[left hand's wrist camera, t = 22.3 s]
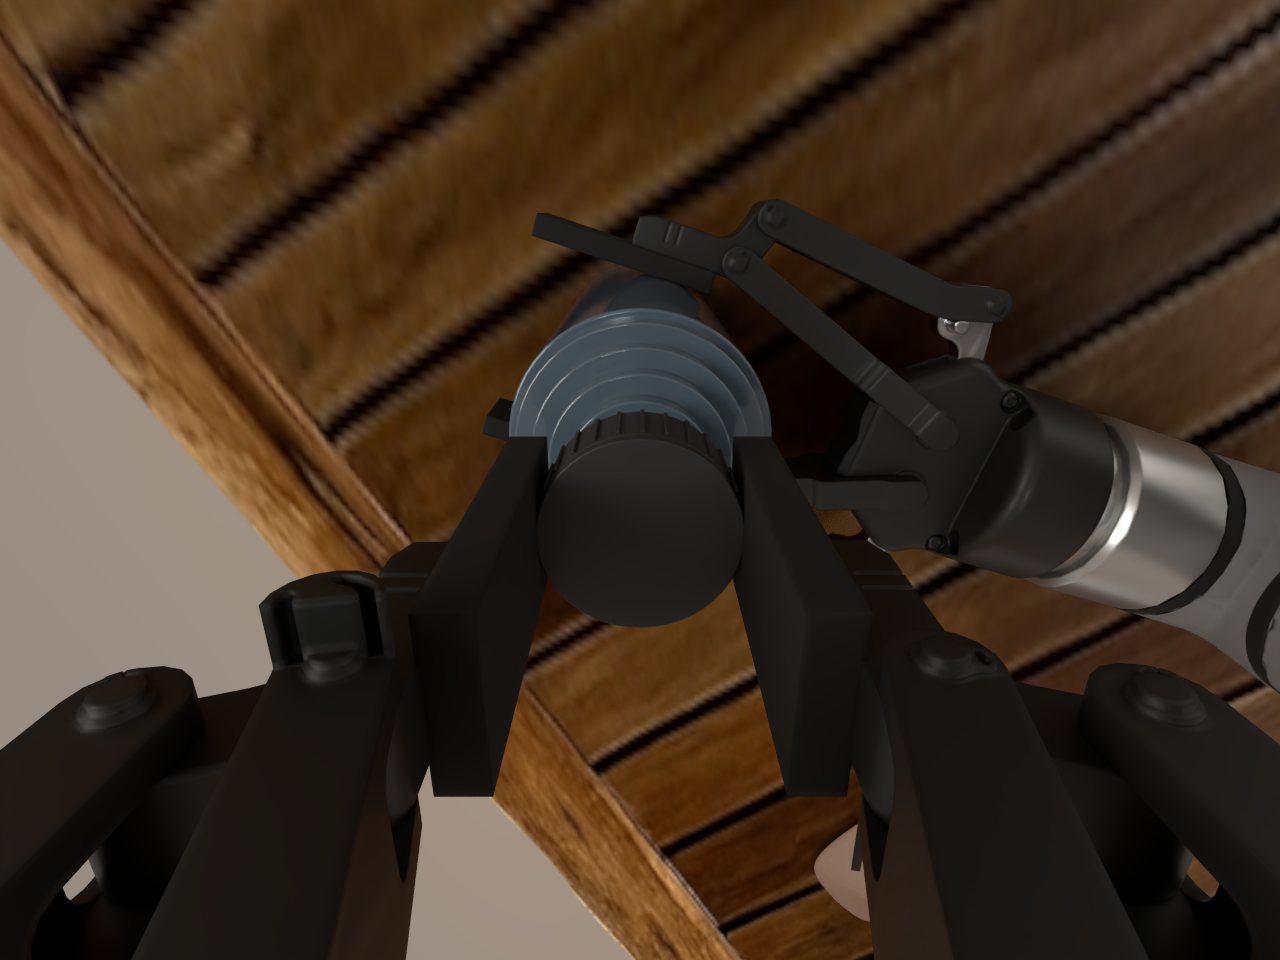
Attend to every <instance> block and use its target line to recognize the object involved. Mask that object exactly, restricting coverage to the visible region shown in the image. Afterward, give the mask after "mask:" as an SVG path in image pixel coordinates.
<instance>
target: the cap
mask: <svg viewBox="0 0 1280 960" xmlns="http://www.w3.org/2000/svg"><path fill="white" fill-rule="evenodd" d="M542 491H544V495H543V498H542V501H541V504H540V507H539V511H538V515H537V542H538V555H539V558H540V561H541V565H542V567H543V569H544V571H545V573H546V575H547V577H548V578H549V580H550V581H551V583H552V584H553V586H554V587H555V588H556V590H557V591H558V592H559V593H560V594H561V595H562V596H563V597H564V598H565V599H566V600H567V601H568V602H569V603H570V604H572V605H573V606H574V607H576V608H577V609H579V610H580V611H582V612H583V613H585V614H587V615H589V616H591V617H593V618H595V619H598V620H601V621H603V622H606V623H610V624H614V625H618V626H625V627H636V628H646V627H657V626H662V625H667V624H671V623H674V622H677V621H680V620H683V619H685V618H687V617H690V616H692V615H694V614H695V613H697V612H699V611H700V610H702V609H704V608H705V607H706V606H708V605H709V604H710V603H711V602H713V601H714V600H715V599H716V598H717V597H718V596H719V595H720V594H721V593H722V592H723V591H724V589H725V588H726V587H727V585H728V584H729V583H730V581H731V580H732V578H733V576H734V574H735V572H736V571H737V568H738V566H739V563H740V561H741V558H742V549H743V533H744V517H743V512H742V508H741V505H740V502H739V499H738V495H740V492H739V489H738V486H737V483H736V480H735V478H734V475H733V472H732V469H731V467H727V464H726V461H725V458H724V455H723V452H722V450H721V449H720V448H719V449H718V450H717V448H716V447H715V445H714V444H713V443H712V442H711V441H710V440H709V437H708V434H707V433H705V432H704V433H703V434H702V433H701V432H700V431H699V430H697V429H696V428H694V427H693V426H691V425H690V423H689V421H687V420H685V422H684V421H681V420H679V419H677V418H674V417H671V416H668V413H666V412H664V413H663V414H659V413H653V412H645V409H640V412H628V413H622V412H621V411H619V412H617V415H613V416H609V417H607V418H604V419H601V420H600V419H599V418H597V419H595V423H593V424H591V425H589V426H588V427H586V428H585V429H584V430H582V431H580V430H578V431H576V434H575V437H574V438H573V439H572V440H571V441H570V442H569V443H568V444H567V445H566V446H564V445H563V446H562V447H561V449H560V452H559V455H558V458H557V460H556V462H555V464H553V463H551V466H550V468H549V471H548V474H547V477H546V480H545V483H544V486H543V488H542Z"/></svg>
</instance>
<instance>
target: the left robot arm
mask: <svg viewBox="0 0 1280 960" xmlns="http://www.w3.org/2000/svg"><path fill="white" fill-rule="evenodd" d="M548 471H549V465H548V446H547V436H510V437H509V438H508V440H507V442H506V444H505V445H504V447H503V449H502V450H501V452H500V454H499V456H498V457H497V459H496V461H495V463H494V464H493V466H492V468H491V470H490V471H489V473H488V475H487V477H486V478H485V480H484V482H483V483H482V485H481V487H480V489H479V490H478V492H477V494H476V496H475V497H474V499H473V501H472V503H471V504H470V506H469V508H468V510H467V511H466V513H465V515H464V516H463V518H462V520H461V522H460V523H459V525H458V527H457V529H456V530H455V532H454V534H453V536H452V537H451V539H450V541H449V542H414V543H412V544H411V545H409V546H408V547H406V548H404V549H403V550H401V551H400V552H398V553H397V554H395V555H393V556H392V557H391V558H390V559H389V561H388V562H387V564H386V565H385V566H384V568H383V569H382V570H381V572H380V573H379V578H378V577H377V576H376V575H373V574H369V573H365V572H361V571H331V572H325V573H319V574H314V575H310V576H307V577H304V578H301V579H298V580H295V581H292V582H290V583H288V584H286V585H284V586H282V587H281V588H279V589H277V590H275V591H274V592H272V593H270V594H269V595H268V596H267V597H266V598H265V600H263V602H262V603H261V604H260V605H259V609H260V613H261V617H262V622H263V626H264V630H265V635H266V639H267V643H268V647H269V652H270V656H271V660H272V664H273V671H272V673H271V675H270V677H269V679H268V681H267V683H266V684H264V685H260V686H256V687H252V688H248V689H243V690H238V691H232V692H227V693H223V694H217V695H212V696H208V697H202V698H198V697H197V693H196V690H195V687H194V683H193V680H192V678H191V677H190V676H189V675H188V674H187V673H185V672H184V671H183V670H181V669H176V668H170V667H165V666H160V667H147V668H136V669H131V670H126V672H119V673H115V674H112V675H109V676H107V677H105V678H104V679H102V680H100V681H97V682H95V683H93V684H90V685H88V686H86V687H84V688H82V689H80V690H79V691H77V692H76V693H74V694H73V695H71V696H69V697H68V698H66V699H65V700H63V701H62V702H60V703H59V704H57V705H56V706H55V707H54V708H52V709H51V710H50V711H49V712H47V713H46V714H45V715H44V716H42V717H41V718H40V719H39V720H37V721H36V722H35V723H34V724H33V725H31V726H30V727H29V728H27V729H26V730H25V731H24V732H22V733H21V734H20V735H19V736H17V737H16V738H15V739H14V740H12V741H11V742H10V743H9V744H7V745H6V746H5V747H4V748H2V749H1V750H0V960H406V952H407V944H408V936H409V928H410V920H411V912H412V903H413V895H414V887H415V879H416V871H417V863H418V854H419V846H420V838H421V830H422V821H421V813H420V806H419V800H418V793H419V790H420V788H421V785H422V782H423V780H424V777H425V774H426V772H427V769H428V766H430V773H431V780H432V787H433V794H434V797H493V795H494V791H495V787H496V783H497V779H498V775H499V771H500V767H501V763H502V759H503V755H504V751H505V747H506V743H507V739H508V735H509V731H510V727H511V723H512V719H513V715H514V711H515V707H516V703H517V699H518V695H519V691H520V687H521V683H522V679H523V675H524V671H525V667H526V663H527V659H528V655H529V651H530V647H531V643H532V639H533V635H534V631H535V627H536V623H537V619H538V615H539V611H540V607H541V603H542V599H543V595H544V591H545V587H546V583H547V579H548V577H547V575H546V573H545V571H544V569H543V567H542V565H541V561H540V558H539V555H538V542H537V515H538V511H539V507H540V504H541V501H542V498H543V495H544V491H542V488H543V486H544V483H545V480H546V477H547V474H548ZM732 472H733V475H734V478H735V480H736V483H737V486H738V489H739V492H740V495H738V499H739V502H740V505H741V508H742V512H743V517H744V533H743V549H742V558H741V561H740V563H739V566H738V568H737V571H736V572H735V574H734V576H733V581H734V585H735V589H736V593H737V597H738V601H739V605H740V609H741V613H742V617H743V621H744V625H745V629H746V633H747V637H748V641H749V645H750V649H751V653H752V657H753V661H754V665H755V669H756V673H757V677H758V681H759V685H760V689H761V693H762V697H763V701H764V705H765V709H766V713H767V717H768V721H769V725H770V729H771V733H772V737H773V741H774V745H775V749H776V753H777V757H778V761H779V765H780V769H781V773H782V777H783V781H784V785H785V789H786V793H787V797H847V790H848V783H849V776H850V769H851V762H852V764H853V767H854V769H855V772H856V775H857V777H858V780H859V783H860V785H861V788H862V790H863V793H862V800H861V806H860V813H859V819H858V826H857V832H856V839H855V845H854V851H853V858H852V866H851V870H853V871H859V872H860V870H861V864H862V861H863V869H864V877H865V886H866V894H867V902H868V910H869V918H870V926H871V934H872V943H873V951H874V959H875V960H1280V745H1279V744H1278V743H1277V742H1275V741H1274V740H1273V739H1272V738H1270V737H1269V736H1268V735H1267V734H1265V733H1264V732H1263V731H1262V730H1260V729H1259V728H1258V727H1257V726H1255V725H1254V724H1253V723H1251V722H1250V721H1249V720H1248V719H1246V718H1245V717H1244V716H1243V715H1241V714H1240V713H1239V712H1238V711H1236V710H1235V709H1234V708H1233V707H1231V706H1230V705H1229V704H1227V703H1226V702H1225V701H1224V700H1222V699H1221V698H1219V697H1218V696H1216V695H1215V694H1213V693H1211V692H1210V691H1208V690H1207V689H1205V688H1204V687H1202V686H1200V685H1199V684H1197V683H1194V682H1192V681H1190V680H1187V679H1185V678H1183V677H1180V676H1179V675H1177V674H1176V673H1173V672H1170V671H1167V670H1164V669H1161V668H1159V669H1156V667H1152V666H1147V665H1136V664H1124V663H1115V664H1110V665H1104V666H1099V667H1098V668H1097V669H1096V670H1095V671H1094V672H1092V673H1091V674H1090V675H1089V678H1088V682H1087V685H1086V689H1085V692H1084V695H1079V694H1074V693H1069V692H1064V691H1059V690H1054V689H1049V688H1044V687H1039V686H1033V685H1029V684H1025V683H1022V682H1018V681H1014V680H1012V678H1011V676H1010V674H1009V672H1008V669H1007V668H1006V666H1005V665H1004V664H1003V663H1002V661H1001V660H1000V659H999V658H998V656H997V655H996V654H995V653H993V652H992V651H990V650H989V649H987V648H986V647H984V646H983V645H981V644H980V643H978V642H976V641H973V640H971V639H968V638H966V637H963V636H961V635H958V634H956V633H951V632H946V631H945V630H944V629H943V628H942V626H941V625H940V624H939V622H938V621H937V619H936V618H935V617H934V615H933V614H932V612H931V611H930V610H929V608H928V607H927V606H926V604H925V603H924V601H923V600H922V599H921V597H920V596H919V595H918V593H917V592H916V590H913V589H912V585H911V583H910V582H909V581H908V579H907V578H906V577H905V575H902V571H901V570H900V568H899V567H898V565H897V564H896V563H895V561H894V560H893V559H892V557H891V556H890V554H888V553H886V552H885V551H883V550H882V549H880V548H878V547H877V546H875V545H874V544H872V543H871V542H869V541H867V540H830V538H829V536H828V535H827V533H826V531H825V529H824V528H823V526H822V524H821V523H820V521H819V519H818V517H817V516H816V514H815V512H814V510H813V509H812V507H811V505H810V503H809V502H808V500H807V498H806V496H805V495H804V493H803V491H802V490H801V488H800V486H799V484H798V483H797V481H796V479H795V477H794V476H793V474H792V472H791V470H790V469H789V467H788V465H787V464H786V462H785V460H784V458H783V457H782V455H781V453H780V451H779V450H778V448H777V446H776V444H775V443H774V441H773V439H772V437H771V436H733V455H732ZM1193 856H1195V857H1196V858H1197V859H1198V861H1199V862H1200V863H1201V864H1202V865H1203V866H1204V867H1205V868H1206V869H1207V870H1208V872H1209V873H1210V874H1211V875H1212V876H1213V877H1214V878H1215V879H1216V880H1217V881H1218V882H1219V887H1218V889H1217V891H1216V894H1215V895H1214V896H1213V897H1212V898H1211V897H1209V896H1208V895H1207V894H1206V893H1205V892H1203V891H1202V890H1201V889H1200V888H1199V887H1198V886H1197V885H1196V884H1195V883H1194V881H1193V880H1192V879H1191V878H1190V877H1189V876H1188V875H1187V871H1188V868H1189V866H1190V863H1191V861H1192V858H1193ZM88 859H89V862H90V864H91V867H92V869H93V872H94V874H95V877H94V878H93V879H92V881H91V882H90V883H89V884H88V885H87V886H86V887H85V888H84V890H82V891H81V892H80V893H79V894H78V895H76V896H75V897H74V898H73V899H72V900H69V899H68V898H67V897H66V894H65V892H64V890H63V886H64V885H65V884H66V883H67V882H68V881H69V880H70V879H71V878H72V876H73V875H74V874H75V873H76V872H77V871H78V870H79V869H80V868H81V867H82V865H83V864H84V863H85V862H86V861H87V860H88Z"/></svg>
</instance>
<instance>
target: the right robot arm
mask: <svg viewBox="0 0 1280 960" xmlns="http://www.w3.org/2000/svg"><path fill="white" fill-rule="evenodd" d="M532 236H535V237H538V238H541V239H544V240H547V241H550V242H553V243H556V244H559V245H562V246H565V247H568V248H571V249H574V250H577V251H580V252H583V253H586V254H589V255H592V256H595V257H598V258H601V259H604V260H607V261H610V262H613V263H616V264H619V265H622V266H625V267H627V268H630V269H633V270H636V271H639V272H642V273H645V274H648V275H651V276H654V277H657V278H660V279H663V280H667V281H669V282H672V283H675V284H678V285H681V286H684V287H687V288H690V289H693V290H696V291H699V292H702V293H705V294H708V295H709V293H710V290H711V287H712V284H713V281H714V279H715V276H716V274H717V275H720V276H723V277H726V278H728V279H729V280H730V281H732V282H733V283H734V284H735V285H736V286H738V287H739V288H740V289H741V290H742V291H744V292H745V293H746V294H747V295H748V296H749V297H751V298H752V299H753V300H754V301H755V302H757V303H758V304H759V305H760V306H761V307H763V308H764V309H765V310H766V311H767V312H769V313H770V314H771V315H772V316H773V317H775V318H776V319H777V320H778V321H779V322H781V323H782V324H783V325H784V326H785V327H787V328H788V329H789V330H790V331H791V332H793V333H794V334H795V335H796V336H797V337H799V338H800V339H801V340H802V341H803V342H805V343H806V344H807V345H808V346H809V347H811V348H812V349H813V350H814V351H815V352H817V353H818V354H819V355H820V356H821V357H823V358H824V359H825V360H826V361H827V362H829V363H830V364H831V365H832V366H833V367H835V368H836V369H837V370H838V371H839V372H840V373H842V374H843V375H844V376H845V377H846V378H848V379H849V380H850V381H851V382H852V383H854V384H855V385H856V386H857V387H858V388H860V389H856V388H854V390H853V392H852V394H851V397H850V399H849V401H848V403H847V406H846V412H845V419H844V424H843V425H842V427H841V428H840V429H839V431H838V432H837V433H836V434H835V436H834V437H833V438H832V439H831V442H830V444H829V446H828V448H827V451H826V453H808V454H802V455H800V456H799V457H797V458H784V460H785V462H786V464H787V465H788V467H789V469H790V470H791V472H792V474H793V476H794V477H795V479H796V481H797V483H798V484H799V486H800V488H801V490H802V491H803V493H804V495H805V496H806V498H807V500H808V502H809V503H810V505H811V507H813V508H815V509H818V510H826V511H828V510H851V512H852V513H853V515H854V516H855V518H856V519H857V521H858V522H859V524H860V525H861V527H862V528H863V529H862V530H861V531H860V532H859V533H858V534H856V535H853V536H845V535H841V534H835V533H831V534H828V536H829V538H830V540H867V541H869V542H871V543H872V544H874V545H875V546H877V547H878V548H880V549H882V550H883V551H886V550H888V551H901V550H906V549H923V550H927V551H930V552H933V553H935V554H938V555H941V556H944V557H947V558H950V559H954V560H957V561H960V562H964V563H967V564H970V565H974V566H977V567H980V568H984V569H987V570H990V571H994V572H997V573H1000V574H1004V575H1007V576H1010V577H1015V578H1024V579H1025V580H1027V581H1029V582H1031V583H1033V584H1035V585H1038V586H1042V587H1045V588H1049V589H1052V590H1056V591H1059V592H1063V593H1066V594H1070V595H1073V596H1077V597H1081V598H1084V599H1088V600H1091V601H1095V602H1098V603H1102V604H1105V605H1109V606H1112V607H1115V608H1117V609H1120V610H1123V611H1126V612H1130V613H1135V614H1138V615H1141V616H1144V617H1147V618H1151V619H1154V620H1157V621H1160V622H1163V623H1166V624H1169V625H1172V626H1175V627H1179V628H1182V629H1185V630H1187V631H1189V632H1192V633H1194V634H1196V635H1198V636H1200V637H1202V638H1203V639H1205V640H1207V641H1208V642H1210V643H1211V644H1213V645H1214V646H1216V647H1217V648H1218V649H1220V650H1221V651H1222V652H1224V653H1225V654H1226V655H1228V656H1229V657H1230V658H1231V659H1233V660H1234V661H1235V662H1237V663H1238V664H1239V665H1241V666H1242V667H1243V668H1245V669H1246V670H1247V671H1248V672H1250V673H1251V674H1252V675H1254V676H1255V677H1256V678H1258V679H1259V680H1260V681H1262V682H1263V683H1264V684H1266V685H1267V686H1268V687H1270V688H1273V689H1274V690H1276V691H1277V692H1278V693H1279V694H1280V474H1279V473H1276V472H1273V471H1269V470H1266V469H1263V468H1260V467H1256V466H1253V465H1250V464H1247V463H1243V462H1240V461H1237V460H1234V459H1230V458H1227V457H1224V456H1221V455H1217V454H1214V453H1211V452H1209V451H1207V450H1205V449H1203V448H1200V447H1198V446H1196V445H1193V444H1190V443H1187V442H1184V441H1181V440H1179V439H1176V438H1173V437H1170V436H1167V435H1164V434H1161V433H1158V432H1155V431H1152V430H1149V429H1146V428H1143V427H1141V426H1138V425H1135V424H1132V423H1129V422H1126V421H1123V420H1120V419H1117V418H1114V417H1111V416H1107V415H1103V414H1099V413H1096V414H1094V413H1093V412H1092V411H1090V410H1088V409H1086V408H1084V407H1081V406H1078V405H1075V404H1073V403H1070V402H1067V401H1064V400H1061V399H1058V398H1055V397H1052V396H1049V395H1046V394H1043V393H1040V392H1037V391H1034V390H1031V389H1028V388H1025V387H1022V386H1019V385H1016V384H1014V383H1011V382H1008V381H1005V380H1002V379H1001V378H1000V377H999V376H998V375H997V374H996V373H995V371H994V370H993V369H992V367H991V366H990V365H989V364H988V363H986V362H985V361H983V360H984V357H985V353H986V349H987V345H988V341H989V337H990V333H991V329H992V325H993V323H998V322H1000V321H1002V320H1004V319H1005V318H1006V317H1007V316H1008V315H1009V313H1010V311H1011V309H1012V298H1011V296H1010V294H1009V293H1007V292H1006V291H1004V290H1001V289H997V288H992V287H987V286H983V285H978V284H974V283H968V282H955V281H943V280H941V279H939V278H937V277H935V276H933V275H931V274H929V273H927V272H925V271H923V270H921V269H919V268H917V267H915V266H913V265H911V264H909V263H907V262H905V261H903V260H901V259H899V258H897V257H895V256H893V255H891V254H889V253H887V252H885V251H883V250H881V249H879V248H877V247H875V246H873V245H871V244H869V243H867V242H865V241H863V240H861V239H859V238H857V237H855V236H853V235H851V234H849V233H847V232H845V231H843V230H841V229H839V228H837V227H835V226H833V225H831V224H829V223H827V222H825V221H823V220H821V219H819V218H817V217H815V216H813V215H811V214H809V213H807V212H805V211H803V210H801V209H799V208H797V207H795V206H793V205H791V204H789V203H787V202H785V201H782V200H778V199H776V200H764V201H759V202H757V203H756V204H754V205H753V207H752V208H751V209H750V211H749V214H748V215H747V216H746V218H745V219H744V220H743V222H742V223H741V224H740V225H739V227H738V228H737V229H736V230H735V231H734V232H733V233H731V234H730V235H727V236H724V237H717V236H713V235H710V234H707V233H704V232H701V231H698V230H695V229H692V228H689V227H686V226H684V225H681V224H678V223H675V222H672V221H669V220H666V219H663V218H660V217H658V216H655V215H653V216H640V218H639V221H638V224H637V228H636V231H635V234H634V238H633V241H632V242H631V241H628V240H625V239H623V238H620V237H617V236H614V235H611V234H608V233H605V232H602V231H599V230H596V229H593V228H590V227H587V226H584V225H581V224H578V223H575V222H572V221H570V220H567V219H564V218H561V217H558V216H555V215H552V214H549V213H537V216H536V220H535V224H534V228H533V232H532ZM775 242H776V243H778V244H780V245H782V246H784V247H786V248H788V249H790V250H792V251H794V252H796V253H798V254H800V255H803V256H805V257H807V258H809V259H811V260H813V261H815V262H817V263H819V264H821V265H823V266H825V267H827V268H829V269H831V270H833V271H835V272H837V273H839V274H841V275H844V276H846V277H848V278H850V279H852V280H854V281H856V282H858V283H860V284H862V285H864V286H866V287H868V288H870V289H872V290H874V291H876V292H878V293H880V294H882V295H885V296H887V297H889V298H891V299H893V300H895V301H897V302H899V303H901V304H904V305H906V306H908V307H911V308H914V309H916V310H919V311H922V312H925V313H928V314H930V315H929V322H928V324H929V328H930V330H931V331H932V332H933V333H934V334H936V335H938V336H941V337H943V338H944V339H946V341H947V342H948V345H949V353H948V354H944V355H941V356H938V357H935V358H931V359H928V360H925V361H922V362H919V363H915V364H912V365H909V366H906V367H902V368H899V369H896V370H893V371H892V370H891V369H890V368H889V367H888V366H886V365H885V364H884V363H883V362H881V361H880V360H879V359H877V358H876V357H875V356H874V355H873V354H871V353H870V352H869V351H868V350H867V349H866V348H864V347H863V346H862V345H861V344H860V343H859V342H857V341H856V340H855V339H854V338H853V337H852V336H850V335H849V334H848V333H847V332H846V331H845V330H843V329H842V328H841V327H840V326H839V325H838V324H836V323H835V322H834V321H833V320H832V319H831V318H829V317H828V316H827V315H826V314H825V313H823V312H822V311H821V310H820V309H819V308H818V307H816V306H815V305H814V304H813V303H812V302H811V301H809V300H808V299H807V298H806V297H805V296H804V295H802V294H801V293H800V292H799V291H798V290H797V289H795V288H794V287H793V286H792V285H791V284H790V283H788V282H787V281H786V280H785V279H784V278H783V277H781V276H780V275H779V274H778V273H777V272H776V271H774V270H773V269H772V268H771V267H770V266H769V265H767V264H766V263H765V262H764V261H763V260H762V258H763V257H764V256H765V254H766V253H767V252H768V251H769V249H770V248H771V247H772V246H773V244H774V243H775ZM512 404H513V401H510V400H506V399H503V398H500V399H499V400H498V401H497V403H496V404H495V405H494V407H493V408H492V409H491V411H490V412H489V414H488V415H487V417H486V421H485V425H484V429H483V433H482V434H485V435H488V436H492V437H495V438H498V439H502V440H505V441H507V440H508V438H509V421H510V415H511V408H512Z"/></svg>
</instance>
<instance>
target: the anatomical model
mask: <svg viewBox="0 0 1280 960" xmlns="http://www.w3.org/2000/svg"><path fill="white" fill-rule="evenodd" d="M857 826H858V824H857V825H855V826H854V827H852V828H851V829H849V830H848V831H846V832H845V833H843V834H842V835H841V836H840V837H838V838H837V839H836V840H834V841H833V842H832V843H831V844H830V845H829V846H828V847H827V848H826V849H824V850H823V851H822V852H821V854H820V855H819V856H818V858H817V859H816V862H815V865H814V870H815V873H816V876H817V878H818V880H819V881H820V883H821V884H822V885H823V887H824V888H825V889H826V890H827V891H828V892H829V893H830V894H831V896H832V897H833V898H834V899H835V900H836V901H837V902H838V903H839V904H840V905H842V906H843V907H844V908H845V909H847V910H848V911H849V912H851V913H852V914H853V915H855V916H856V917H858V918H860V919H862V920H865V921H869V922H870V918H869V910H868V902H867V894H866V886H865V877H864V869H863V861H862V864H861V870H860V872H859V871H853V870H851V866H852V858H853V851H854V845H855V839H856V832H857Z"/></svg>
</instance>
